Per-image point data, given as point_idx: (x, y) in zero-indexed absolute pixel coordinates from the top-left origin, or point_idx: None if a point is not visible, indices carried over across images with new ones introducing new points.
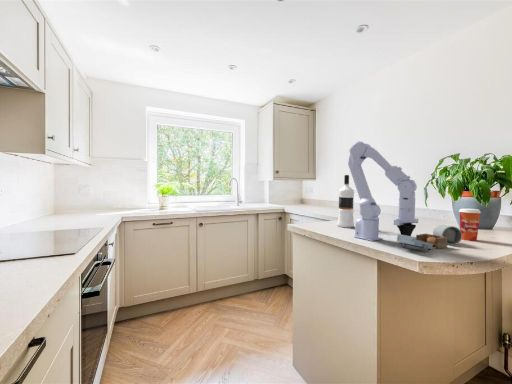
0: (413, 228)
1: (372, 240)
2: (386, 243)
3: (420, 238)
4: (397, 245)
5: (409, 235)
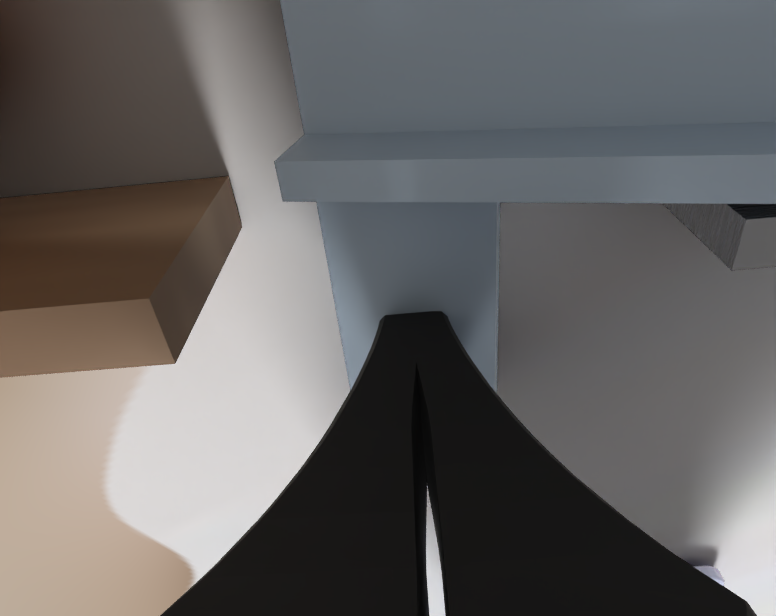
0: (290, 574)
1: (711, 569)
2: (667, 444)
3: (89, 253)
4: (661, 311)
5: (436, 393)
